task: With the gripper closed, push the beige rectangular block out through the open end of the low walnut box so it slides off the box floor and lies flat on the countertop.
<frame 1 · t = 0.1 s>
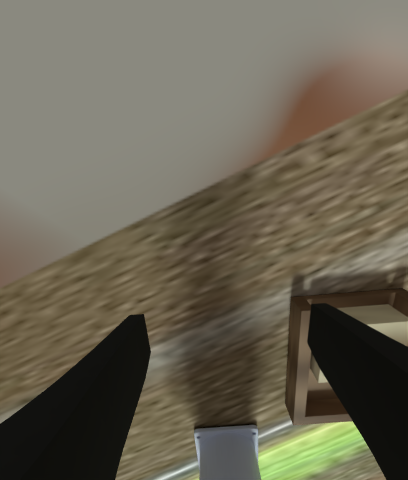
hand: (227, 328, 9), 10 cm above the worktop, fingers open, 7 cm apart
walnut box: (337, 352, 22), on the worktop
beige rectangular block: (344, 334, 20), point 1 cm above the worktop, touching walnut box
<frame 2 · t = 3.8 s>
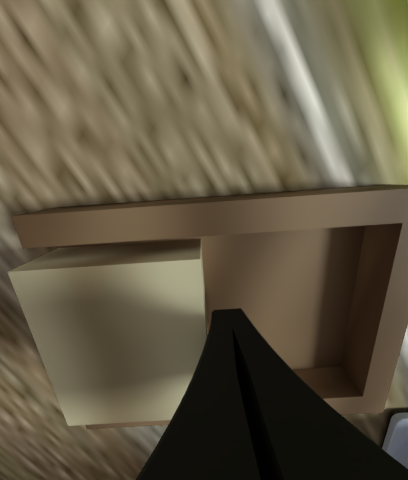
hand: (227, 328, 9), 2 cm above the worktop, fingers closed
walnut box: (224, 301, 10), on the worktop
beige rectangular block: (142, 314, 10), point 1 cm above the worktop, touching gripper, walnut box
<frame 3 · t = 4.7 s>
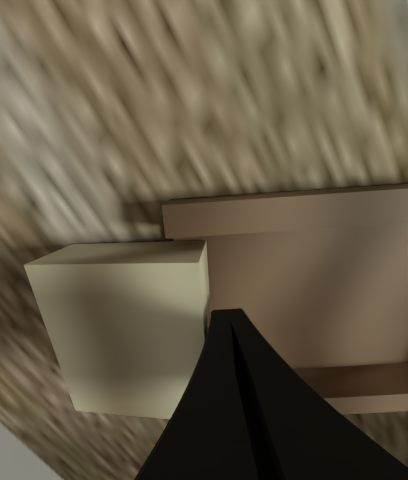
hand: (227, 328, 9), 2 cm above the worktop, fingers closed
walnut box: (324, 295, 10), on the worktop
beige rectangular block: (148, 312, 10), on the worktop, tilted 7°, touching gripper
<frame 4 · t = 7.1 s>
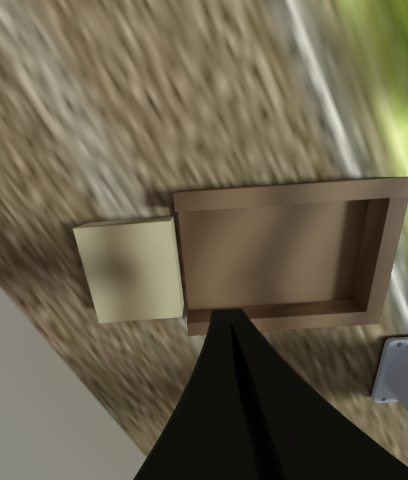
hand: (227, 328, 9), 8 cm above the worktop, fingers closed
walnut box: (276, 254, 16), on the worktop
beige rectangular block: (141, 262, 17), on the worktop
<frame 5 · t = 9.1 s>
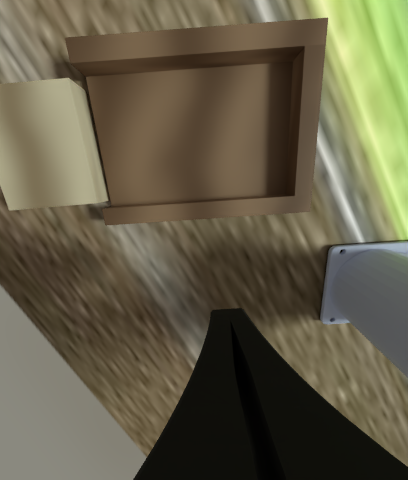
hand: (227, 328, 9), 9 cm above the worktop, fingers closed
walnut box: (202, 141, 15), on the worktop
beige rectangular block: (60, 154, 16), on the worktop
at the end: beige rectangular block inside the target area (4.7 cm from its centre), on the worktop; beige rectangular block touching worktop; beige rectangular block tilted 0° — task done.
